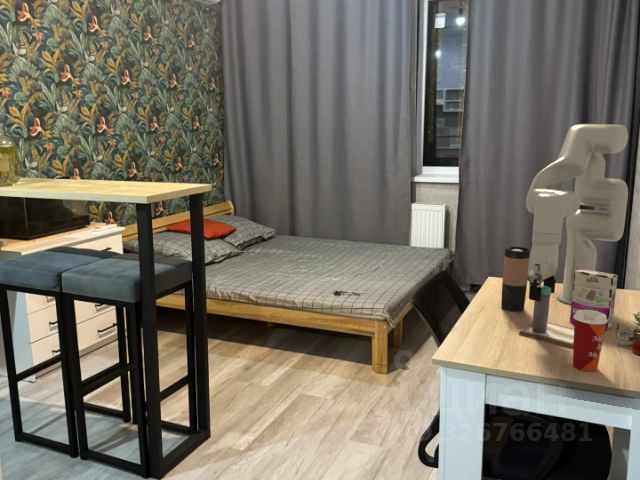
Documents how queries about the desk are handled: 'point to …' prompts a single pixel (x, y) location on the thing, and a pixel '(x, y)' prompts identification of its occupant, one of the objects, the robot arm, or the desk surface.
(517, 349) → the desk surface
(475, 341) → the desk surface
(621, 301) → the desk surface
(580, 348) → the paper cup
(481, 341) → the desk surface
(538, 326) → the marker
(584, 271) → the candy bar box
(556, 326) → the clipboard
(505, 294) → the travel mug
